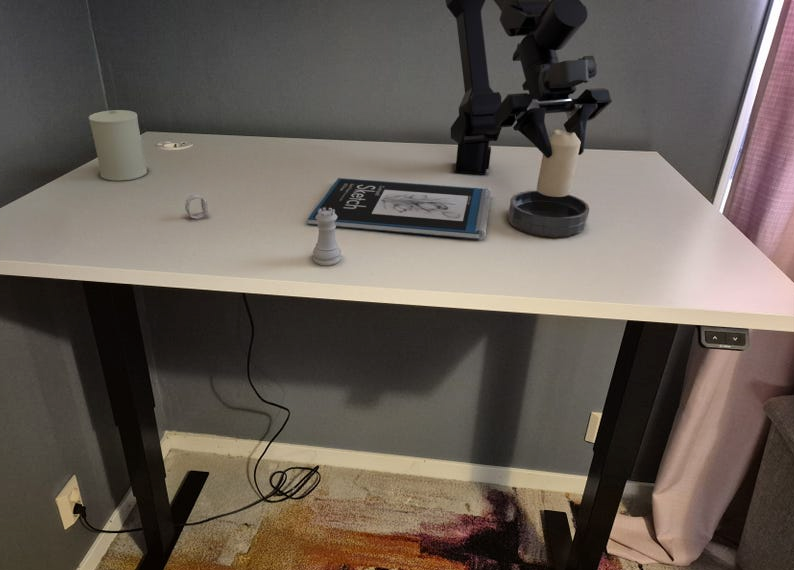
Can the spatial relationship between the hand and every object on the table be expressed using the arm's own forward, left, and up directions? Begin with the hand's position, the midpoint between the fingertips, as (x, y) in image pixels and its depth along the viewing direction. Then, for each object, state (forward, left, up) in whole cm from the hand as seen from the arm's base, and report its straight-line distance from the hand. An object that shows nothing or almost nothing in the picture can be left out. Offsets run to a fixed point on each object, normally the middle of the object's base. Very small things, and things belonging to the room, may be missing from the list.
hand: (565, 155), depth 103 cm
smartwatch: (-61, -9, -12) cm, 63 cm away
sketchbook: (-26, +2, -12) cm, 29 cm away
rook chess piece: (-35, -21, -12) cm, 43 cm away
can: (-85, +10, -12) cm, 86 cm away
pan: (-1, +1, -12) cm, 12 cm away
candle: (-1, +1, -7) cm, 7 cm away
